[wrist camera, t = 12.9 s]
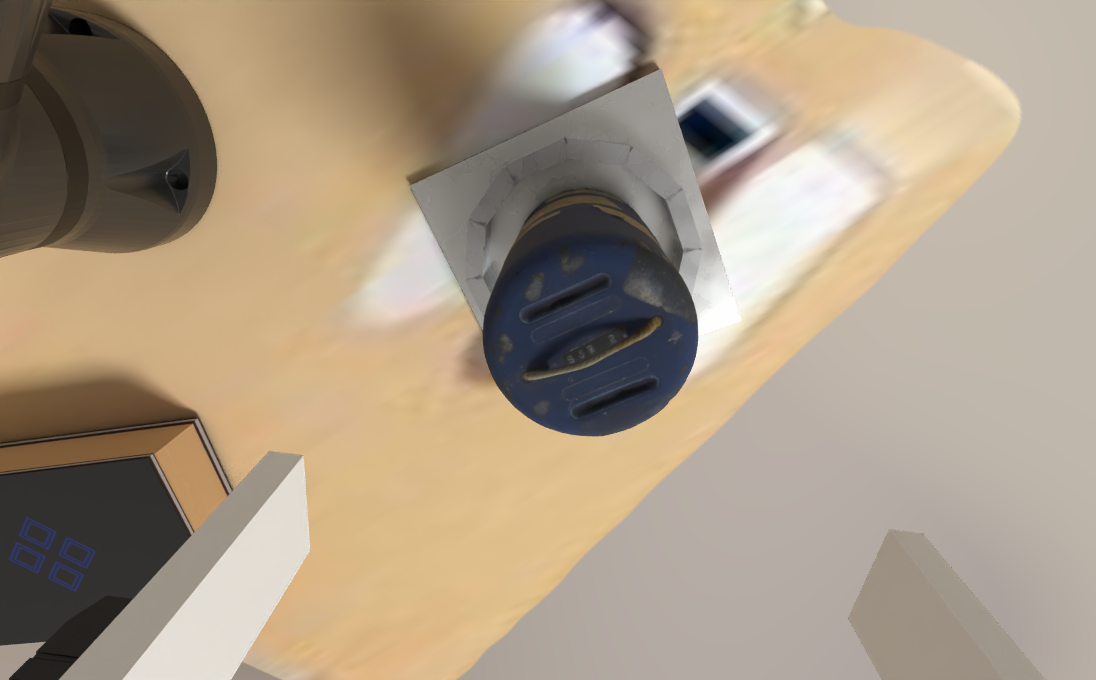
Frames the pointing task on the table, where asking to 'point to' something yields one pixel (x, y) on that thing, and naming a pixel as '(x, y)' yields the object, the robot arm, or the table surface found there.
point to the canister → (589, 318)
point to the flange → (582, 163)
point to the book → (96, 517)
